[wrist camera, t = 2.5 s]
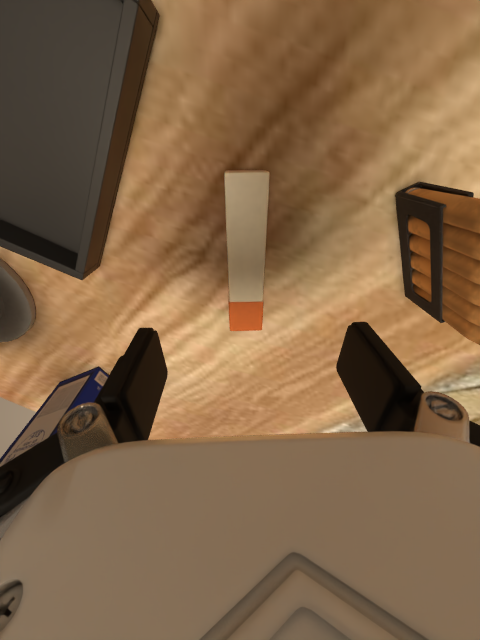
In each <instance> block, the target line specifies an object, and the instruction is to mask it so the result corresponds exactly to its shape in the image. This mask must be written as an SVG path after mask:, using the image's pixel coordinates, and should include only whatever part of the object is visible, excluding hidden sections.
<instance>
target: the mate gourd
mask: <svg viewBox="0 0 480 640" xmlns="http://www.w3.org/2000/svg"><path fill="white" fill-rule="evenodd" d="M35 318H36V308H35V304H34V300H33V298H32V296H31V294H30V292H29V290H28V288H27V286H26V285H25V284H24V282H23V281H22V279H21V278H20V277H19V276H18V275H17V274H16V273H15V272H14V270H13V269H12V268H11V267H10V266H9V265H8V264H6V263H5V262H4V261H3V260H2V259H0V342H8V341H11V340H14V339H17V338H19V337H20V336H22V335H24V334H25V333H26V332H27V331H28V330H29V329H30V328H31V327H32V325H33V323H34V321H35Z"/></svg>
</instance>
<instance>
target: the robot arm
mask: <svg viewBox="0 0 480 640" xmlns="http://www.w3.org/2000/svg"><path fill="white" fill-rule="evenodd" d="M336 368H337V372H338V374H339V376H340V378H341V380H342V382H343V384H344V386H345V388H346V390H347V392H348V394H349V396H350V398H351V400H352V402H353V404H354V406H355V408H356V410H357V412H358V414H359V416H360V418H361V420H362V422H363V424H364V426H365V427H366V429H367V431H368V432H341V433H307V434H277V435H249V436H223V437H198V438H176V439H158V440H148V438H149V435H150V431H151V428H152V425H153V422H154V418H155V415H156V412H157V408H158V405H159V402H160V399H161V395H162V392H163V389H164V385H165V382H166V379H167V367H166V363H165V359H164V356H163V352H162V348H161V344H160V340H159V336H158V333H157V331H154V330H153V328H139V329H138V331H137V333H136V334H135V336H134V338H133V340H132V342H131V343H130V345H129V347H128V349H127V350H126V352H125V354H124V355H123V356H121V357H120V358H119V359H118V361H117V363H116V365H115V366H114V368H113V370H112V371H111V373H110V375H109V377H108V378H107V380H106V382H105V384H104V385H103V387H102V389H101V390H100V392H99V394H98V396H97V397H96V399H95V401H94V403H91V402H89V403H84V404H81V405H78V406H76V407H74V408H73V409H71V410H69V411H68V412H67V413H66V414H65V415H64V416H63V417H62V418H61V420H60V421H59V423H58V426H57V433H55V434H53V435H52V436H50V437H48V438H47V439H45V440H44V441H42V442H40V443H39V444H37V445H35V446H34V447H32V448H30V449H29V450H27V451H25V452H24V453H22V454H20V455H19V456H17V457H15V458H14V459H12V460H11V461H9V462H7V463H6V464H4V465H2V466H1V467H0V640H480V425H478V424H475V423H473V422H471V421H469V416H468V413H467V411H466V410H465V408H464V407H463V406H462V405H461V404H460V403H459V402H457V401H456V400H454V399H453V398H451V397H449V396H447V395H445V394H442V393H439V392H432V391H431V392H425V393H424V392H423V391H422V389H421V386H420V384H419V383H418V382H417V381H416V380H415V378H414V377H413V376H412V375H411V374H410V373H409V371H408V370H407V369H406V368H405V367H404V366H403V364H402V363H401V362H400V361H399V360H398V358H397V357H396V356H395V355H394V354H393V353H392V351H391V350H390V349H389V348H388V347H387V345H386V344H385V343H384V342H383V341H382V340H381V338H380V337H379V336H378V335H377V334H376V333H375V331H374V330H373V329H372V328H371V327H370V325H369V324H368V323H367V322H353V323H352V324H351V325H349V326H348V328H347V332H346V335H345V338H344V342H343V345H342V348H341V352H340V355H339V358H338V362H337V366H336Z"/></svg>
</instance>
